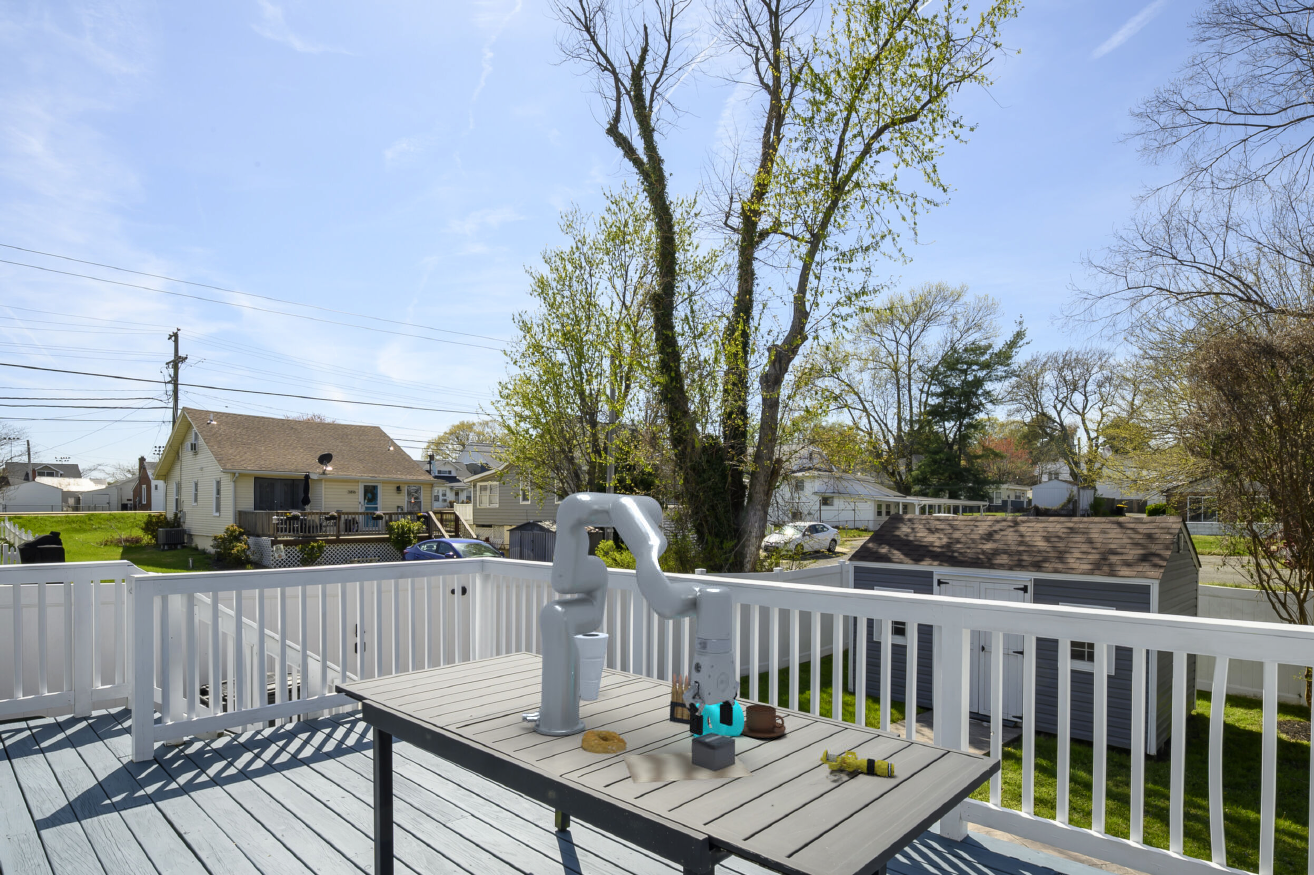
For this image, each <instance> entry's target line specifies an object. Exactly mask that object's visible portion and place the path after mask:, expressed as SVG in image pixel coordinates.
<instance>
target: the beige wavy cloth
mask: <svg viewBox="0 0 1314 875" xmlns="http://www.w3.org/2000/svg"><path fill="white" fill-rule="evenodd" d="M622 758H623V760H624V763H625V765H626V767H627V768H626V769H627V770H628V773H629V774H630V777H631V779H632V782H633V784H638V783H639V784H641V783H643V784H644V783H658V782H660V783H661V782H675V781H676V782H678V781H695V780H707V779H708V780H712V779H725V778H744V777H754V775H753V774H752V772H751V771H749V770H748V768H747V767H746V766H745V765H744V764H743V762H742V761H740V759H739V758H738V757H737V756H736V755H735V764H734V765H731V766H729V767H726V768H724V769H721V770H718V771H716V772H715V771H712V770H709V769H706V768H703V767H700V766H697V765H694V764H692V751H688V752H671V753H670V752H669V753H656V754H655V753H651V754H631V755H630V754H629V755H628V754H627V755H622Z"/></svg>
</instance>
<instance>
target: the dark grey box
mask: <svg viewBox="0 0 1314 875" xmlns="http://www.w3.org/2000/svg"><path fill="white" fill-rule="evenodd" d="M691 752H692V764H694V765H697V766H700V767H703V768H706V769H709V770H712V771H715V772H716V771H718V770H721V769H724V768H726V767H729V766H731V765H734V764H735V756H736V739H735V738H732V737H730V736H727V735H724V736H722V735H719V734H715V733H708V734H705V735H702V736H699V737H694V738H691Z"/></svg>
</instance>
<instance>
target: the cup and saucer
mask: <svg viewBox="0 0 1314 875" xmlns="http://www.w3.org/2000/svg"><path fill="white" fill-rule="evenodd" d="M777 719H780V722H778V721H777ZM786 729H787V728H786V726H785V719H784V718H783V717H782V716H781V715H778V714H777V709H776V707H774V706H771V705H767V704H751V705H748V706H745V719H744V728H743V730H742V732H741V734H742V735H746V736H747V737H752V738H758V739H771V738H776V737H779V736H781V735H783V734H784V733H785V732H786Z"/></svg>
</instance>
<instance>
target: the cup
mask: <svg viewBox="0 0 1314 875" xmlns="http://www.w3.org/2000/svg"><path fill="white" fill-rule="evenodd" d="M574 638H575V641H576V643H577V645H578V648H579V651H580V700H582V701H588V702H589V701H590V702H591V701H597V700H598V698H599V692H600V687H601V681H602V676H603V671H604V666H605V659H606V653H607V647H608V642H609V634H608V633H604V632H596V631H594V632H592V633H588V634H583V635H577V636H574Z"/></svg>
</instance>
